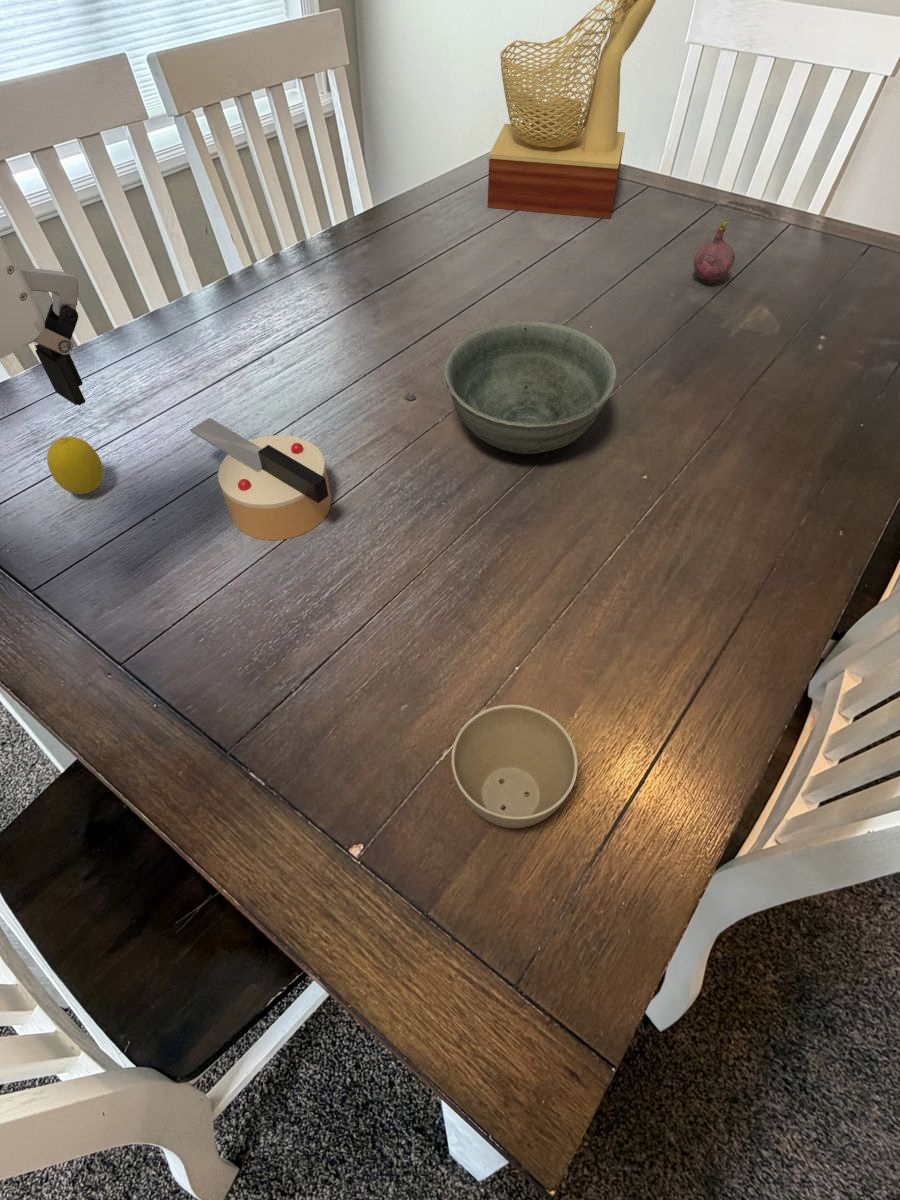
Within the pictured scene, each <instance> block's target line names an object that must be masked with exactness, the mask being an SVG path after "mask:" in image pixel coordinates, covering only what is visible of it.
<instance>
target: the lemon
mask: <svg viewBox="0 0 900 1200" xmlns="http://www.w3.org/2000/svg"><path fill="white" fill-rule="evenodd" d="M46 456H47V457H46V461H47V467H48V470H49V472H50V474H51V476H52V478H53V480H54V481H55V482H56V483H57V484H58V485H59V486H60V487H61V488H62V489H64V490H65V491H67V492H70V493H73V494H77V495H83V494H90V493H91V492H92V491H95V490H96V489H97V488H98V487H99V486H100V484H101V482H102V481H103V477H104V467H103V464H102V460H101V457H100V456H99V454H98V453H97V452H96V450H95V449H94V448H93V447H92V445H90V444H89V443H88V442H87V441H85V440H83V439H82V438H79V437H75V436H63V437H59V438H57V439H56V440H54V442H52V444H51V445H50V446H49V448H48V450H47V454H46Z"/></svg>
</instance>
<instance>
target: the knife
mask: <svg viewBox="0 0 900 1200" xmlns="http://www.w3.org/2000/svg"><path fill="white" fill-rule="evenodd" d="M189 431H190V433H192V434H194V435H195V436H197V437H199V438H200V439H202V440H203V441H205V442H206V443H208V444H210V445H212V446H213V447H215V448H216V449H218V450H219V451H222V452H223V453H225V454H226V455H230V456H231V457H233V458H234V459H236V460H238V461H239V462H241V463H243V464H244V465H246V466H247V467H249V468H251V469H252V470H254V471H256V472H257V473H258V472H260V471H261V470H262V469H263V470H264V471H266V472H267V473H269V474H271V475H272V476H274V477H276V478H277V479H279V480H281V481H282V482H284V483H286V484H287V485H289V486H290V487H292V488H294V489H295V490H297V491H299V492H300V493H302V494H304V495H305V496H307V497H309V498H310V499H312V500H313V501H315V502H317V503H320V502H321V501H322V500H324V499H325V498H326V497H328V490H327V485H326V479H325V477H323V476H321V475H319V474H318V473H316V472H314V471H313V470H311V469H309V468H307V467H306V466H304V465H302V464H301V463H299V462H297V461H296V460H294V459H292V458H290V457H289V456H287V455H285V454H284V453H282V452H280V451H278V450H277V449H275V448H273V447H272V446H270V445H267V446H266V447H264V448H263V449H262V448H260V447H258V446H257V445H255V444H253V443H252V442H250V441H251V440H249V439H246V438H245V437H243V436H242V435H240V434H238V433H236V432H235V431H233V430H232V429H229V428H228V427H226V426H225V425H223V424H221V423H219V422H218V421H217V420H214V419H213V418H211V417H208V418H206V419H205V420H203V421H201V422H200V423H198V424H196V425H195V426H194V427H192V428H190V429H189Z"/></svg>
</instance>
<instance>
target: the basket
mask: <svg viewBox="0 0 900 1200" xmlns="http://www.w3.org/2000/svg"><path fill="white" fill-rule="evenodd" d="M656 2H657V0H602V1H601V2H600V3H598V4H596V5H595V6H594V7H593V8H592V9H591V10H590V11H588V13H586V15H584V16H583V17H582V18H581V19H580V20H579V21H578V22H577V23H576V24H575V25H574V26H573V27H572V28H571V29H570V30H568V32H566V33H565V34H564V35H562V36H559V37H557V38H554V39H552V40H549V41H547V42H544V43H543V42H534V41H527V40H519V39H516V40H514V41H513V42H511V43H510V44H508V45H506V47H504V48H503V50H501V51H500V53H499V54H500V71H501V78H502V85H503V91H504V98H505V102H506V108H507V113H508V119H509V123H504V125H503V126H502V128H501V130H500V132H499V134H498V136H497V138H496V140H495V142H494V143H493V146H492V147H491V149H490V151H489V154H488V176H487V177H488V178H487V180H488V182H487V208H489V209H497V210H498V209H499V210H508V211H509V210H511V211H520V212H521V211H523V212H531V213H532V212H533V213H545V214H554V215H565V216H567V215H568V216H575V217H576V216H577V217H587V218H598V219H611V216H612V211H613V206H614V202H615V197H616V192H617V187H618V182H619V175H620V170H621V162H622V157H623V151H624V144H625V137H626V131H618V129H619V128H618V127H619V113H620V111H619V110H620V93H621V68H622V60H623V57H624V55H625V53H626V52H627V51H628V49H629V48H630V47H631V45H632V44H633V43H634V41H635V40H636V38H637V37H638V35H639V33H640V31H641V30H642V28H643V26H644V24H645V22H646V21H647V19H648V17H649V15H650V14H651V12H652V10H653V8H654V6H655V5H656ZM609 3H611V4H609ZM603 4H604V5H603ZM608 4H609V5H608ZM607 5H608V6H607ZM606 6H607V7H606ZM601 7H602V8H601ZM605 7H606V8H605ZM610 7H612V8H611V9H610V11H608V12H607V10H608V9H609V8H610ZM595 14H596V15H595ZM594 15H595V16H594ZM603 15H605V16H603ZM593 16H594V17H593ZM598 16H599V18H598V19H597V17H598ZM592 17H593V18H592ZM587 21H588V22H587ZM605 21H606V24H604V22H605ZM592 22H594V23H593V24H592V25H591V26H590V27H589V28H588V29H586V27H587V26H588V25H590V24H591V23H592ZM597 24H598V26H596V25H597ZM595 26H596V27H595ZM594 27H595V28H594ZM600 27H601V29H600V30H598V29H599V28H600ZM606 27H607V28H606ZM582 31H584V32H583V33H582V34H581V32H582ZM576 33H577V34H576ZM575 34H576V35H575ZM580 34H581V35H580ZM600 34H601V35H600ZM574 35H575V37H574ZM579 35H580V36H579ZM607 36H608V37H607ZM596 37H598V39H597V40H596V41H594V40H595V39H596ZM572 38H573V40H572ZM606 38H607V39H606ZM570 40H572V41H571V42H570ZM605 40H606V41H605ZM604 41H605V42H604ZM569 42H570V43H569ZM598 42H599V43H598ZM517 43H518V44H517ZM603 43H604V45H603ZM530 44H532V45H530ZM554 44H555V45H554ZM562 44H563V45H562ZM552 45H554V46H552ZM561 45H562V46H561ZM602 45H603V47H602ZM537 46H538V47H540V48H536V47H537ZM522 47H526V48H524V49H523V48H522ZM594 47H595V48H594ZM601 47H602V49H601ZM593 48H594V49H593ZM530 49H533V51H531V52H529V51H528V50H530ZM544 49H548V50H546V51H545V52H543V51H541V50H544ZM554 49H556V50H555V51H553V52H552V50H554ZM511 50H512V51H511ZM516 50H520V51H519V52H515V51H516ZM561 50H562V51H561ZM590 51H591V52H590ZM537 52H538V53H539V54H535V53H537ZM588 52H589V53H588ZM522 53H526V54H525V55H522ZM587 53H588V54H587ZM508 54H509V56H508ZM553 55H554V56H553ZM517 56H518V57H517ZM529 56H531V57H529ZM542 56H545V57H542ZM537 58H538V60H536V59H537ZM582 58H583V59H582ZM592 58H593V59H592ZM523 59H524V60H523ZM581 59H582V60H581ZM586 59H587V61H586ZM552 60H553V61H552ZM517 61H518V63H516V62H517ZM529 61H532V62H529ZM542 61H544V62H542ZM584 61H586V62H584ZM523 64H524V65H523ZM567 64H568V65H567ZM573 64H574V65H573ZM566 65H567V66H566ZM572 65H573V66H572ZM588 66H589V67H588ZM578 67H580V69H579V68H578ZM583 69H586V71H585V72H583V71H582V70H583ZM578 75H580V76H578ZM586 76H588V77H587V78H586ZM583 78H584V81H581V80H582V79H583ZM570 79H571V80H570ZM588 82H590V83H588ZM570 85H572V86H571V87H570ZM585 86H586V88H585ZM581 88H582V89H581ZM573 89H575V91H574V90H573ZM580 89H581V90H580ZM586 91H587V93H586ZM569 93H571V94H569ZM573 96H574V97H573ZM572 97H573V98H572ZM585 101H586V102H585ZM583 108H584V109H583ZM521 121H522V122H521Z"/></svg>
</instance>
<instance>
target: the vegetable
mask: <svg viewBox="0 0 900 1200" xmlns="http://www.w3.org/2000/svg"><path fill="white" fill-rule="evenodd" d="M728 224H729V223H728V221H724V222H723V223H721V224H720V225H719V227H718V229H717V231H716V234H715V236H714V239H713V240H711V241H709V242H708V243H704V244H703V245H702V246H701V247H700V248H698V250H697V252H695V253H696V254H695V256H694V259H693V266H694V270H695V272H696V273H697V275H698V276H699V277H700V278H701V279H702V280H704V282H705V283H706V284H712V283H715V282H717V281H718V280H719V279H721V278H723V277H724V276H725V275H726V274H727V273H728V272H729V271H730V270H731V269H732V268H733V266H734V263H735V262H736V261H735V260H736V255H735V251H734V249H733V247H732V246H731V245H730V244H729V243H728V242H726V241H724V233H725V232H726V227H727V226H728Z"/></svg>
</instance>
